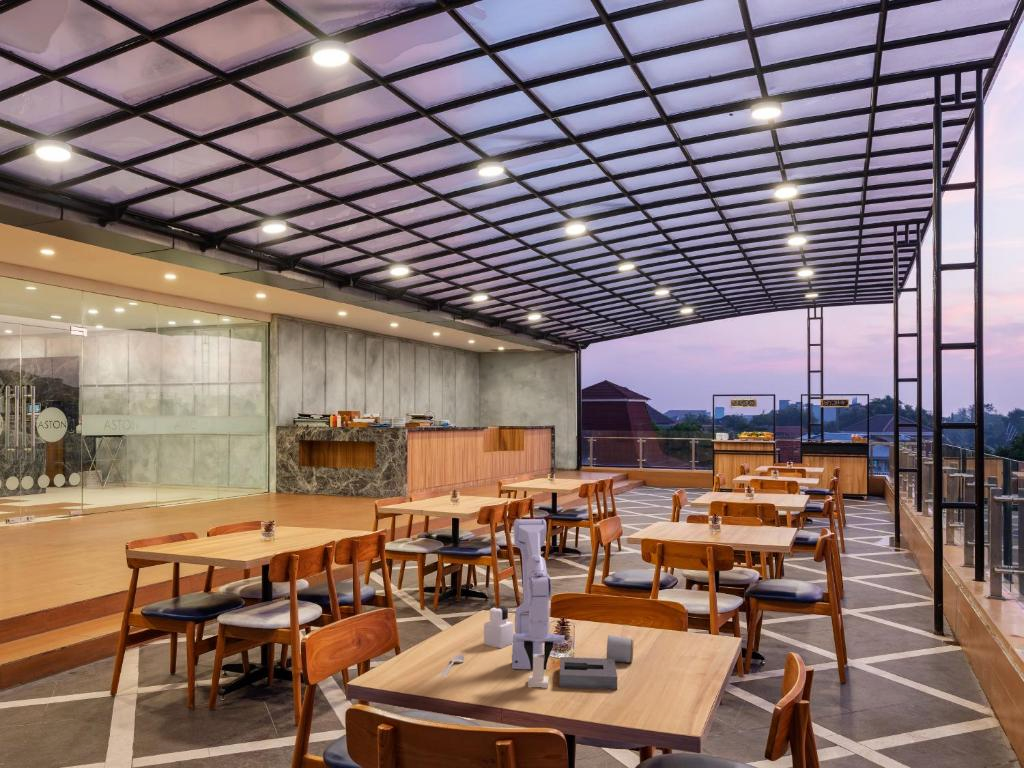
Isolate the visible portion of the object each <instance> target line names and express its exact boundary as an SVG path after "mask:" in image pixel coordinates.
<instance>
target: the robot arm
mask: <svg viewBox="0 0 1024 768" xmlns="http://www.w3.org/2000/svg"><path fill="white" fill-rule="evenodd" d="M546 538H547V521H546V520H545V518H529V519H528V518H527V519H525V518H524V519H523V518H521V519H518V518H515V520H514V521H513V542H514V547H516V548H517V549H520V553H521V558H522V559H521V561H522V589H523V590H522V593H523V594H522V595H523V597H522V598H523V602H522V603H521V604H520V605H519V606H518V607H516V609H515V611H514V632H515V633H513V644H511V646H512V648H511V649H512V651H511V652H512V653H511V663H512V666H511V667H512V669H513V670H514V669H515V670H533V655H534V654H544V671H545V670H547V665H548V661H549V657H550V654H551V653H552V650H553V649H554V644H560V645H565V635H564V634H563V635H561V634H554V633H550V598H551V597H552V596H551V595H552V580H551V577H550V575H549V573H548V571H547V563H546V560H545V558H544V557H543V556H541V553H542V552H541V550H542V549H541V548H542V547H543V546H544V544H545V541H546Z"/></svg>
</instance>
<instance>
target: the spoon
mask: <svg viewBox="0 0 1024 768" xmlns="http://www.w3.org/2000/svg"><path fill="white" fill-rule="evenodd" d="M465 659H466V658H465V655H463V654H457V655H455V656H454V657H453V658H451V659H450V663H449V665H448V666H447V667H446V668H445V669H444V670H443V671H442V672H441V673H440V674H441V676H442V677H441V678H443V676H444V677H446V676H447V675H448V674H449V672H450V670H451V668H452V666H453V665H454V662H455V663H456V664H460V663H463V662H465ZM454 660H462V661H461V662H460V661H454ZM447 673H448V674H447ZM446 674H447V675H446ZM445 675H446V676H445Z"/></svg>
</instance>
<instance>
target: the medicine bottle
mask: <svg viewBox="0 0 1024 768" xmlns="http://www.w3.org/2000/svg"><path fill="white" fill-rule="evenodd" d="M508 620H509V610H508V608H506V607H504V606H493V607H492V608H490V610H489V621H487V622H484V623H483V626H484V628H483V645H484V644H485V645H484V646H488V645H489V646H488V647H492V646H493V648H497V647H498V648H497V649H503V648H505V646H506V647H508V646H511V645H513V644H512V643H513V634H514V622H513V621H508ZM510 644H511V645H510ZM507 645H508V646H507ZM502 647H503V648H502Z"/></svg>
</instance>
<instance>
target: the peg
mask: <svg viewBox="0 0 1024 768" xmlns="http://www.w3.org/2000/svg"><path fill="white" fill-rule="evenodd" d="M549 680H550V679H549V675H545V670H544V653H543V654H534V655H533V669H532V675H529V676H528V681H527V687H528V688H530V687H542V688H541V689H548V688H549V682H548V681H549Z"/></svg>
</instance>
